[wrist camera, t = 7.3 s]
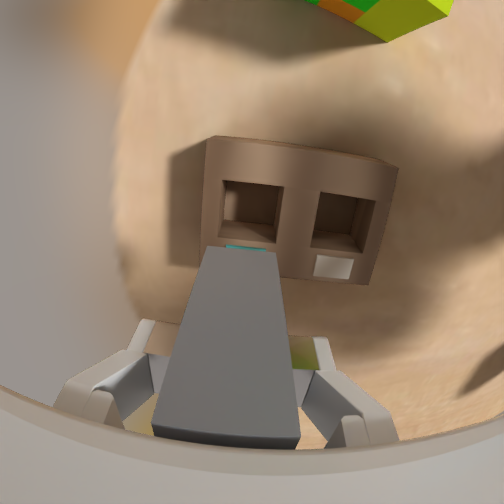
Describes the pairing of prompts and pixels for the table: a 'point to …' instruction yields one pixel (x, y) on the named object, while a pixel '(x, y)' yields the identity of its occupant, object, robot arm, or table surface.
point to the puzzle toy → (388, 14)
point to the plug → (231, 359)
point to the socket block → (299, 206)
